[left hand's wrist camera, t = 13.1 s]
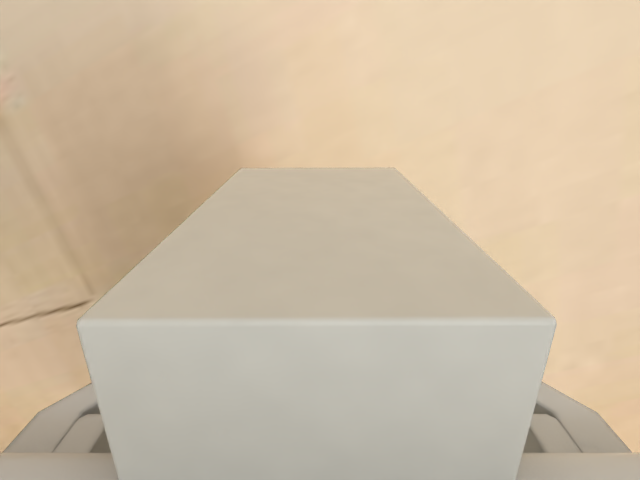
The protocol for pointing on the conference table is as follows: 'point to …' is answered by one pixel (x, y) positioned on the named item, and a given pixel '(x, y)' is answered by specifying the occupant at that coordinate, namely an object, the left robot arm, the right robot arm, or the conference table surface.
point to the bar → (317, 340)
